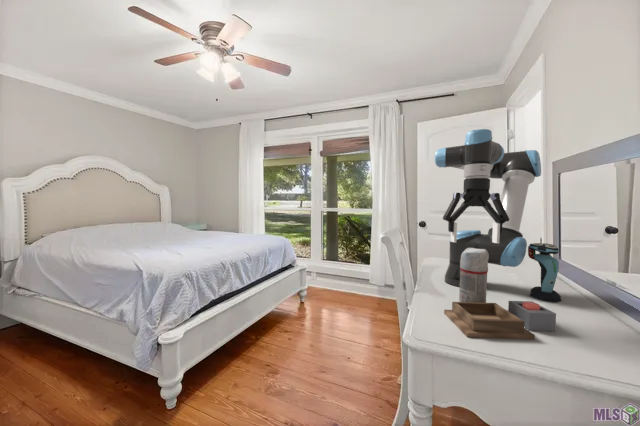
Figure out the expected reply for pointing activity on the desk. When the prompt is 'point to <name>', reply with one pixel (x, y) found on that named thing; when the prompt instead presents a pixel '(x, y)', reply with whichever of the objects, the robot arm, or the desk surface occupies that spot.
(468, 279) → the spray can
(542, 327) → the control box
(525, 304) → the button
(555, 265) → the teal power drill
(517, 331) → the walnut tray
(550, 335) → the desk surface
